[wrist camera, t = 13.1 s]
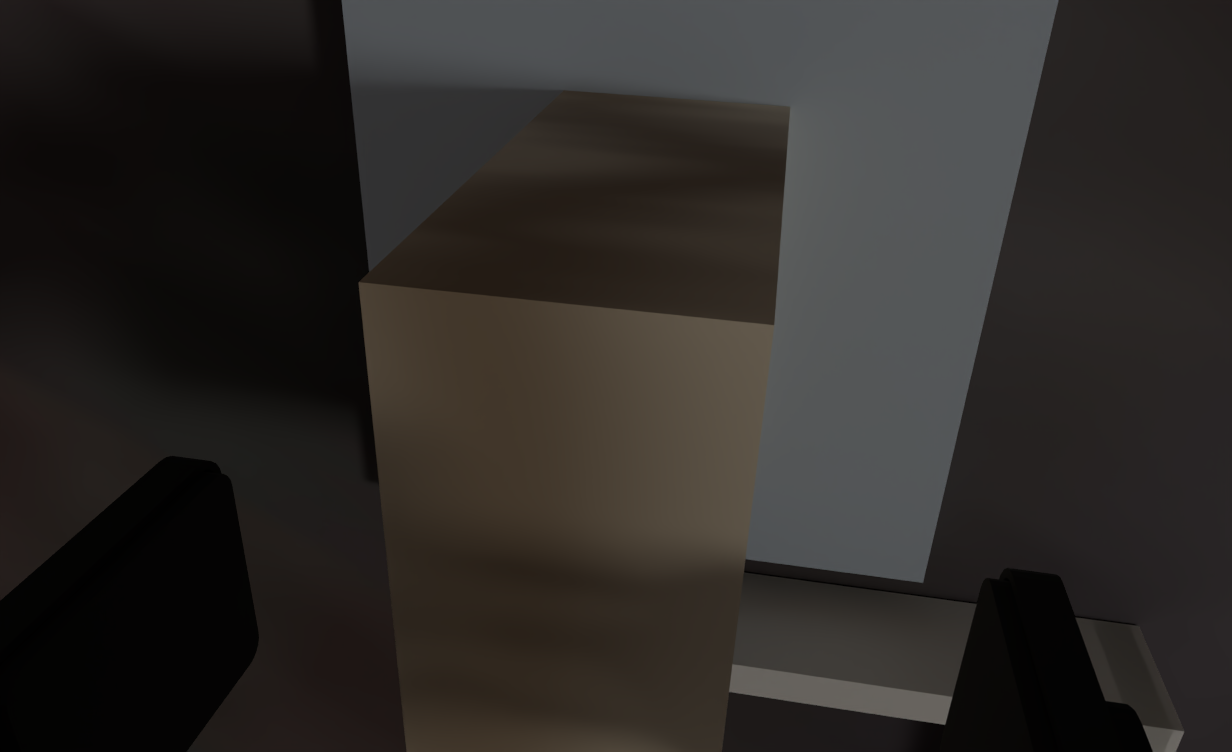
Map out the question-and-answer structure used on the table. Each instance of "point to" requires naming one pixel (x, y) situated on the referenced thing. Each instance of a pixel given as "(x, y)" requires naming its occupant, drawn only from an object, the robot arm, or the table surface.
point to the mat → (812, 207)
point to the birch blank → (578, 426)
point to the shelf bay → (905, 653)
